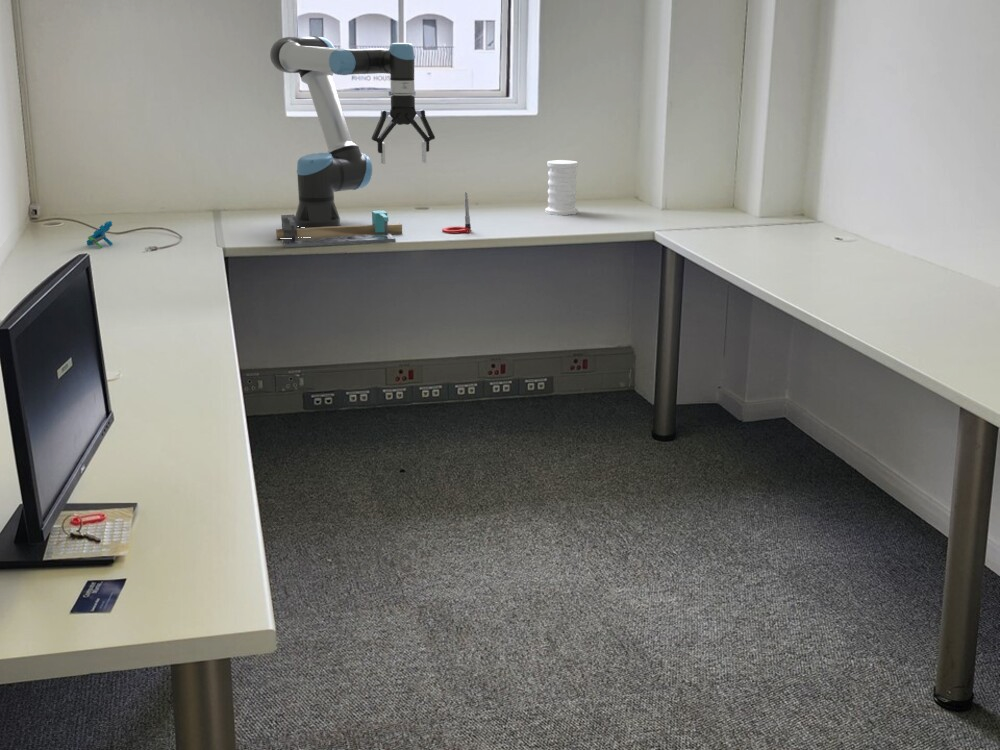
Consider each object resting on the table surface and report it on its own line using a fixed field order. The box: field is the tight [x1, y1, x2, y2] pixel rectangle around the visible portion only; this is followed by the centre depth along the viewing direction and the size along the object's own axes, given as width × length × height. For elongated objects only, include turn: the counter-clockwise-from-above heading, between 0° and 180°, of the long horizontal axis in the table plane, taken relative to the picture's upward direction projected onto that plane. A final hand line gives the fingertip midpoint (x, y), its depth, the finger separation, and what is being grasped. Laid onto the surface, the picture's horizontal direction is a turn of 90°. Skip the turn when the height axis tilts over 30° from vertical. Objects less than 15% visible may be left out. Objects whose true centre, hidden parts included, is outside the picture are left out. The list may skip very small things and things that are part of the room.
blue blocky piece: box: [86, 220, 113, 249], centre depth 343 cm, size 11×6×10 cm
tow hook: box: [442, 191, 472, 234], centre depth 368 cm, size 8×13×9 cm
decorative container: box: [544, 159, 579, 216], centre depth 403 cm, size 12×12×18 cm
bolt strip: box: [281, 233, 397, 249], centre depth 351 cm, size 9×34×1 cm, turn 107°
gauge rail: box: [275, 214, 403, 240], centre depth 356 cm, size 12×40×7 cm, turn 107°
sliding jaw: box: [371, 210, 389, 235], centre depth 360 cm, size 12×4×6 cm, turn 17°
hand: (403, 162), depth 360 cm, fingers open, 13 cm apart
